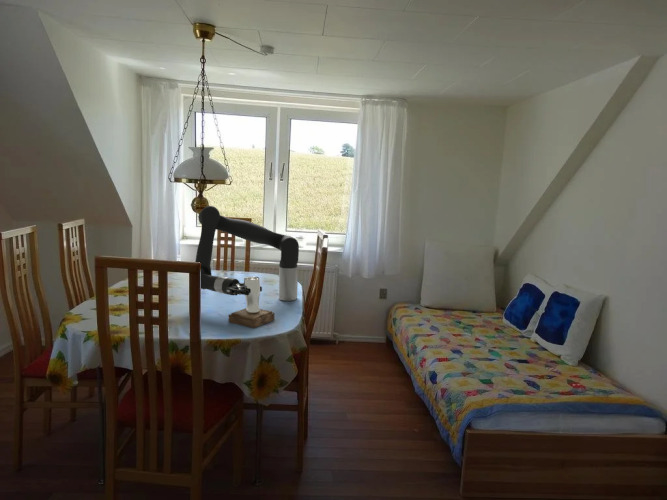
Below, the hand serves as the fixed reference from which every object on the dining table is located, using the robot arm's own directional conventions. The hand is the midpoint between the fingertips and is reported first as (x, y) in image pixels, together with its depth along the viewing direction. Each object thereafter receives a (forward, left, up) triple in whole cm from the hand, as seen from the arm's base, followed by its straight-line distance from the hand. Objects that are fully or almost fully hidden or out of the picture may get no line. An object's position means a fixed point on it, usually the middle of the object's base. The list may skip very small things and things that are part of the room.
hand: (255, 291), depth 193 cm
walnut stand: (0, -2, -14) cm, 14 cm away
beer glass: (-1, -2, -10) cm, 10 cm away
